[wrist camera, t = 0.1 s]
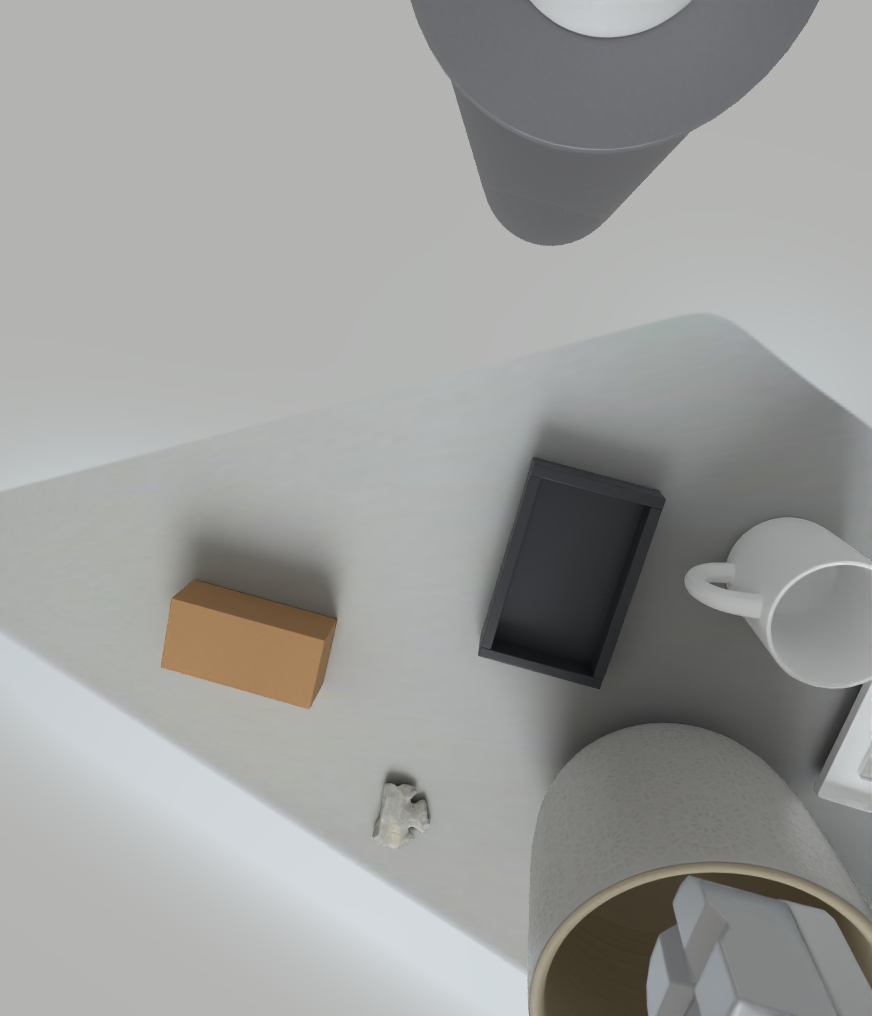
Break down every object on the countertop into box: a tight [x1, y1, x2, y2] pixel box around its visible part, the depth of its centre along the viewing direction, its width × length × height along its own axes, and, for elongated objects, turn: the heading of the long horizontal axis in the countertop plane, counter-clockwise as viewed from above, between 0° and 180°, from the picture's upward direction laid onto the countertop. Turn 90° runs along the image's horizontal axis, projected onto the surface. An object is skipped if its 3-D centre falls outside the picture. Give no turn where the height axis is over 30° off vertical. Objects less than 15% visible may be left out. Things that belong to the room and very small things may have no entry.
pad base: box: [478, 457, 666, 689], centre depth 55 cm, size 15×9×3 cm, turn 166°
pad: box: [161, 580, 337, 709], centre depth 58 cm, size 6×12×4 cm, turn 76°
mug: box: [684, 517, 872, 689], centre depth 49 cm, size 12×8×10 cm
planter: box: [528, 723, 872, 1016], centre depth 51 cm, size 21×21×19 cm
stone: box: [373, 783, 430, 849], centre depth 62 cm, size 6×1×5 cm
